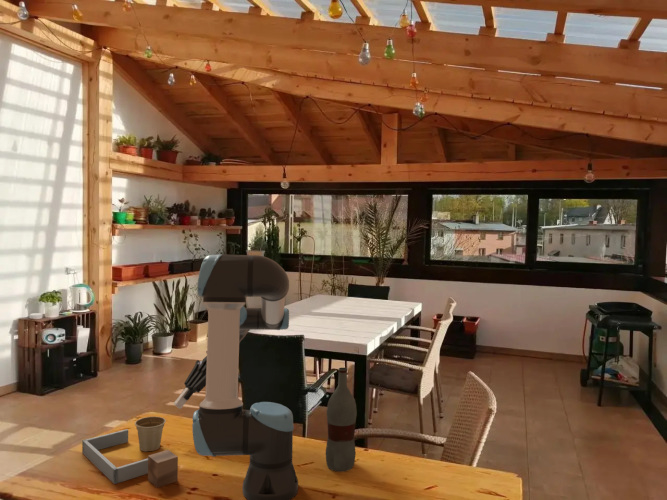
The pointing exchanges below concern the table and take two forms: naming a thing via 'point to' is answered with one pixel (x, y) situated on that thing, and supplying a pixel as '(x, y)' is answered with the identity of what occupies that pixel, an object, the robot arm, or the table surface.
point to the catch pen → (104, 465)
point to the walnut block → (162, 468)
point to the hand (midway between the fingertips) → (177, 406)
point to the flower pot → (150, 432)
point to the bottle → (341, 427)
